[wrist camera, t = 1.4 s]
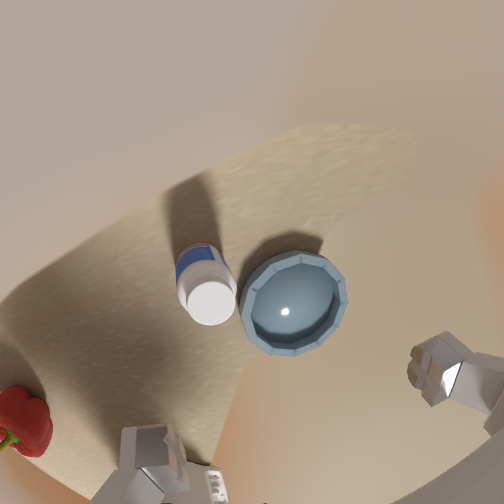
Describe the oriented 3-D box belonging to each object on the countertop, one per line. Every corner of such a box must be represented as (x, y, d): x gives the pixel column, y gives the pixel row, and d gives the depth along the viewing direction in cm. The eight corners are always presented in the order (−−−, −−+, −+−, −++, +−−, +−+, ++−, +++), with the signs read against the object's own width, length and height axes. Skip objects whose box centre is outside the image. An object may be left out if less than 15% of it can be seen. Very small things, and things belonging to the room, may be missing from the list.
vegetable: (30, 431, 34) (16, 474, 25) (-11, 386, 30) (-34, 427, 21) (71, 418, 35) (59, 467, 26) (26, 368, 32) (2, 414, 22)
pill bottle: (167, 277, 33) (165, 318, 24) (189, 233, 33) (194, 260, 23) (211, 296, 35) (224, 341, 26) (233, 255, 34) (255, 288, 25)
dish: (343, 324, 41) (351, 332, 39) (254, 360, 39) (259, 369, 37) (330, 236, 36) (338, 240, 34) (225, 271, 35) (229, 278, 33)
